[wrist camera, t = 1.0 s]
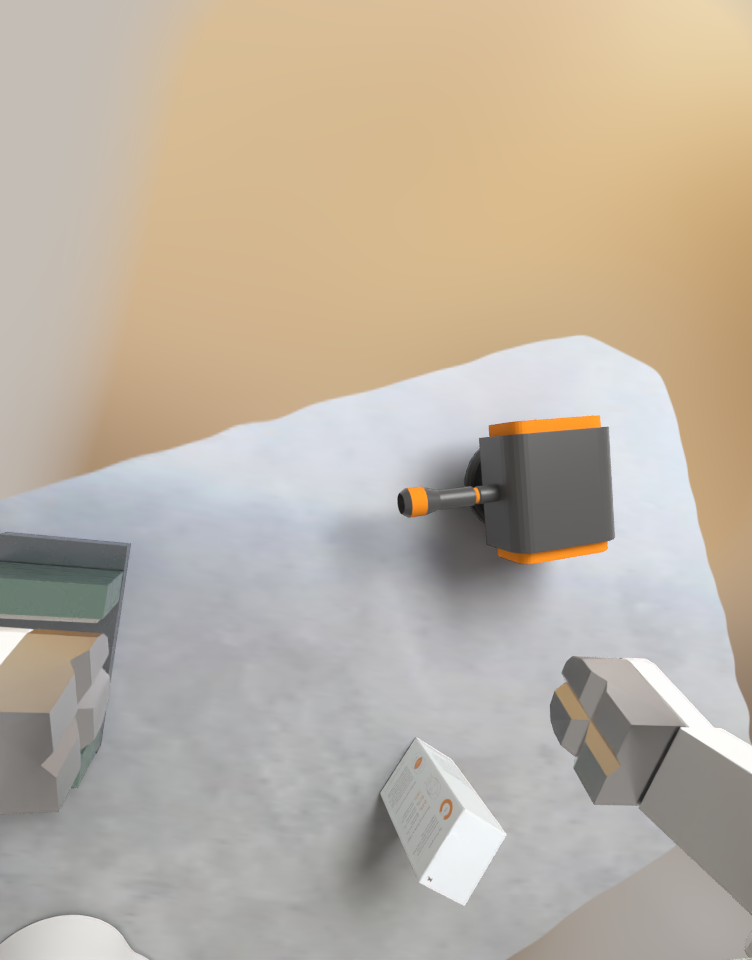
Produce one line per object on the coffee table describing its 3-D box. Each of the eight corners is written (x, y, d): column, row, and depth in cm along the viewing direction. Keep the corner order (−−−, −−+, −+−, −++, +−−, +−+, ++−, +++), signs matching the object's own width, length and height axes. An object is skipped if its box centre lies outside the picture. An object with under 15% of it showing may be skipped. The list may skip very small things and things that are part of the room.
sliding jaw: (118, 605, 47) (101, 625, 42) (-12, 598, 44) (-48, 617, 38) (123, 571, 47) (107, 585, 42) (-7, 561, 44) (-42, 575, 38)
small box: (416, 814, 59) (464, 909, 46) (378, 792, 57) (416, 884, 45) (453, 757, 60) (509, 835, 48) (416, 734, 59) (464, 808, 46)
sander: (371, 436, 56) (408, 429, 43) (552, 422, 62) (627, 412, 50) (382, 559, 56) (421, 585, 44) (559, 532, 63) (635, 548, 51)
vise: (100, 744, 49) (76, 793, 41) (-26, 746, 46) (-76, 799, 38) (130, 543, 49) (111, 557, 42) (6, 532, 46) (-37, 544, 38)
